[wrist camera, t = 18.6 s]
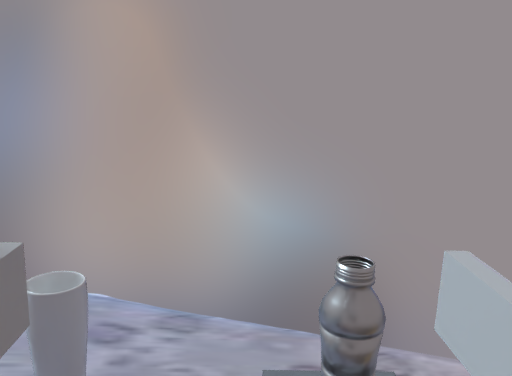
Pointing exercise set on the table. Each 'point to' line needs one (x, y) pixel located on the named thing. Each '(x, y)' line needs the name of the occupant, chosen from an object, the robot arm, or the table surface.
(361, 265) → the silver metal bottle
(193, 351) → the table surface
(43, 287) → the drinking glass
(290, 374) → the tray
